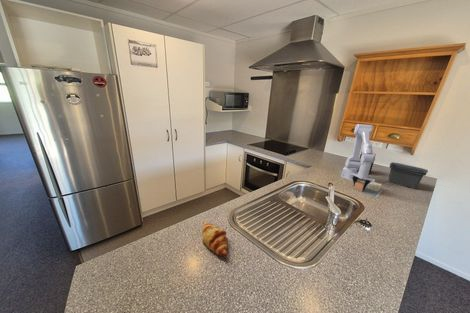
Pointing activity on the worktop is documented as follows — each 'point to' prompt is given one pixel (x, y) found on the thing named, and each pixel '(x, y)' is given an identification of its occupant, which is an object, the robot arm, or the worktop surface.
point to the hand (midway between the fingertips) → (359, 188)
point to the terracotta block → (359, 186)
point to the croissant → (215, 239)
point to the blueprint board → (371, 190)
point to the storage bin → (406, 175)
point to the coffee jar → (371, 164)
